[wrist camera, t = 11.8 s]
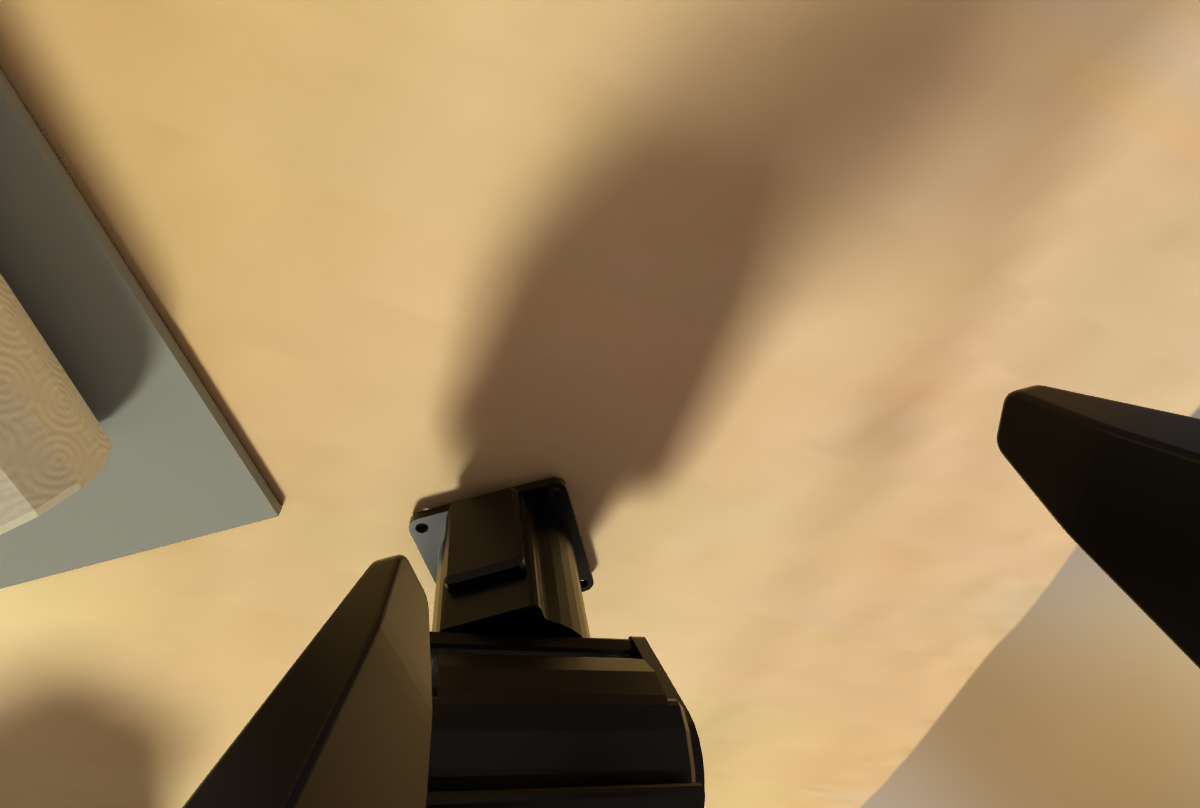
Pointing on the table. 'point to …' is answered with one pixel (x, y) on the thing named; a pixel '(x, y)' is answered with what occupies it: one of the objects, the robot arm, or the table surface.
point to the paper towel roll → (40, 423)
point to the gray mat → (110, 380)
